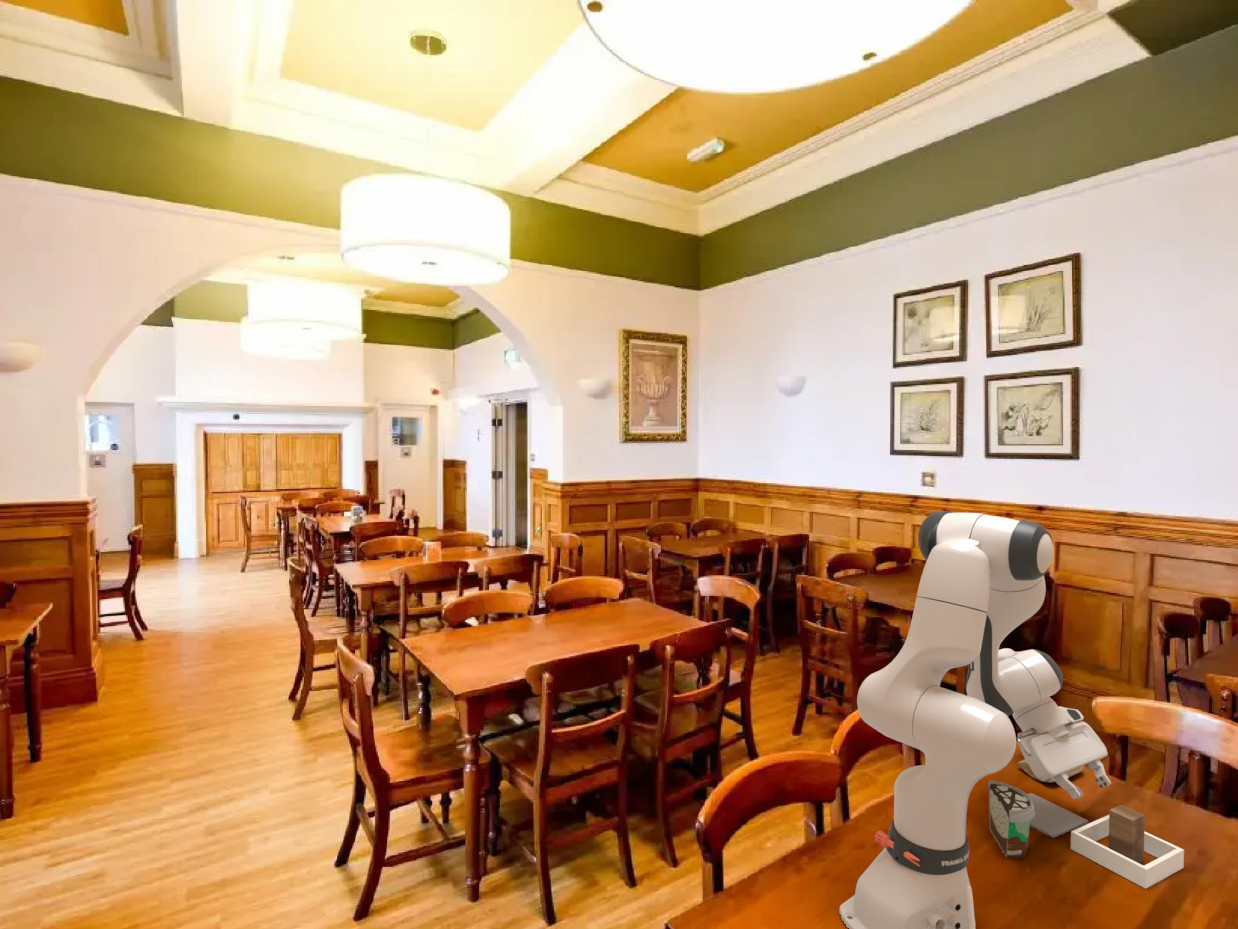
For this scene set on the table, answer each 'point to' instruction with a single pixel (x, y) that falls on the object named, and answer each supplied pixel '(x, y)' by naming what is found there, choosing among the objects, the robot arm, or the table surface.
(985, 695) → the robot arm
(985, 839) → the table surface
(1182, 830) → the table surface
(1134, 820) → the walnut block
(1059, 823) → the rubber mat
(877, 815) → the table surface
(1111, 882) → the table surface
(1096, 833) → the tray
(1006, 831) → the food container
